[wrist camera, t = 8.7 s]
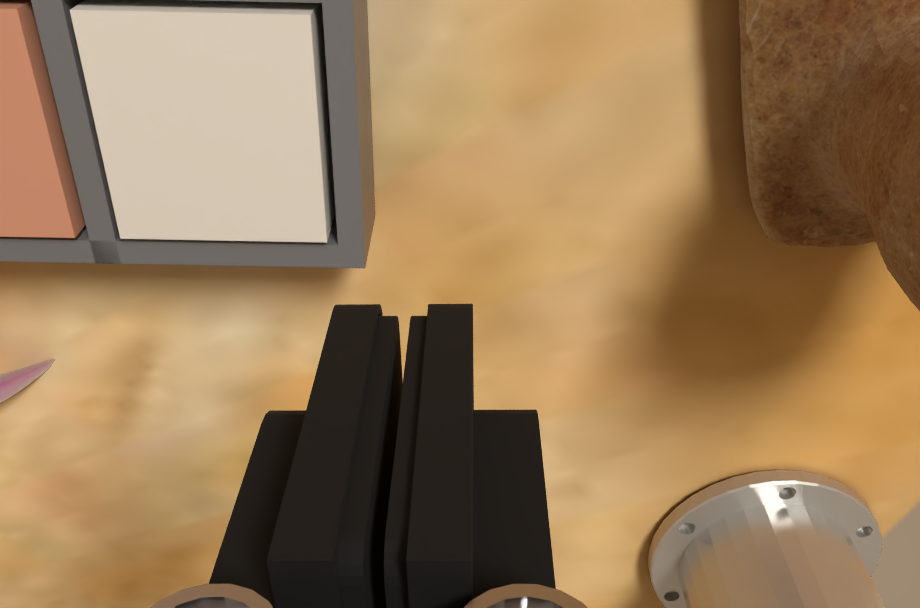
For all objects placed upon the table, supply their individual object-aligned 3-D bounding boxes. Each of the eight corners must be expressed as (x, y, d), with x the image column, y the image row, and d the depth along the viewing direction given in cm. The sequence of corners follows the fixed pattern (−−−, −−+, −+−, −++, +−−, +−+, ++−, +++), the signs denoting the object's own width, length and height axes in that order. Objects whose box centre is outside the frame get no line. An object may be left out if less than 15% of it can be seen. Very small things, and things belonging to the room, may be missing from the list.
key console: (375, 216, 37) (365, 268, 33) (-88, 207, 37) (-151, 258, 33) (364, -55, 31) (351, -29, 27) (-187, -67, 31) (-278, -42, 27)
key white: (335, 212, 34) (326, 242, 32) (141, 209, 34) (120, 238, 32) (321, -4, 30) (310, 15, 28) (97, -9, 30) (69, 9, 28)
